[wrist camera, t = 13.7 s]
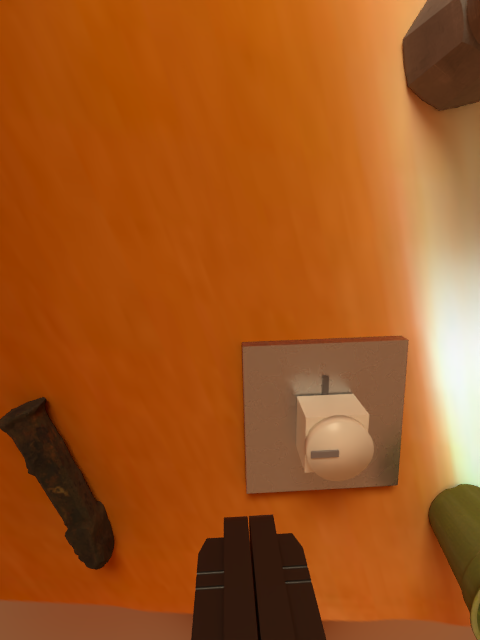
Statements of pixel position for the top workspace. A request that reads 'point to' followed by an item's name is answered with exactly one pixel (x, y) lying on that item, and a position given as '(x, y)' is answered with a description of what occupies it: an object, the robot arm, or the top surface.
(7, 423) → the hand tool
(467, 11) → the coffeepot
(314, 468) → the knob
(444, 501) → the plant pot
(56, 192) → the top surface
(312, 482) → the block
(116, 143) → the top surface
